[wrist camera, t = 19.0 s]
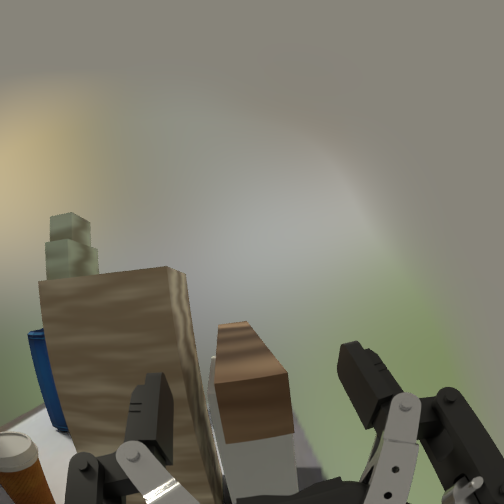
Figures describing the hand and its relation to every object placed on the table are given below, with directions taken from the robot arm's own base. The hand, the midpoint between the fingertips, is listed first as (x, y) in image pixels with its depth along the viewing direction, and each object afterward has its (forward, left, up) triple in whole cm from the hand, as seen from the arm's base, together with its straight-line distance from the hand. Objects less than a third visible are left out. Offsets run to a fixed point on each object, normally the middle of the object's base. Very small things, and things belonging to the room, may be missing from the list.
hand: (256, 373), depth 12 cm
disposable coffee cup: (-14, +32, -26) cm, 43 cm away
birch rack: (+5, +23, -26) cm, 35 cm away
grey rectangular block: (+14, +14, -26) cm, 32 cm away
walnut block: (+11, +11, -5) cm, 16 cm away
